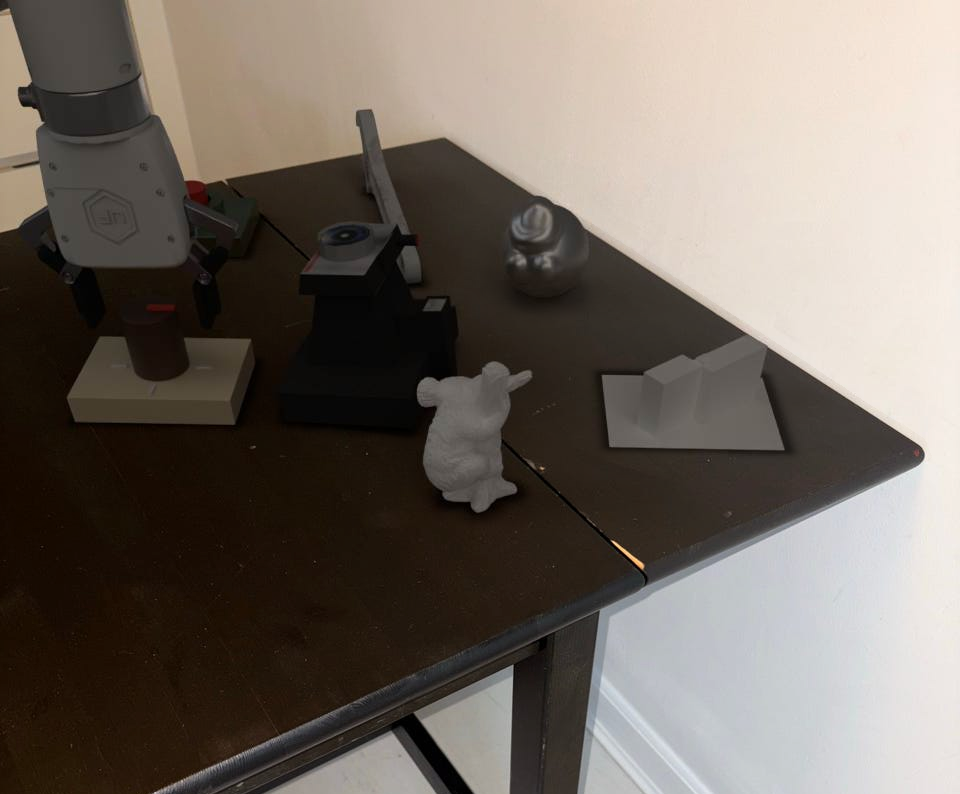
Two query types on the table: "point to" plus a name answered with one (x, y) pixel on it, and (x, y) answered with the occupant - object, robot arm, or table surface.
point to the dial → (154, 337)
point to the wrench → (385, 191)
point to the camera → (366, 333)
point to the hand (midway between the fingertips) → (153, 321)
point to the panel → (164, 385)
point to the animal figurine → (469, 434)
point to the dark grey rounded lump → (544, 248)
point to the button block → (237, 210)
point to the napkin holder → (695, 402)
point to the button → (197, 191)
